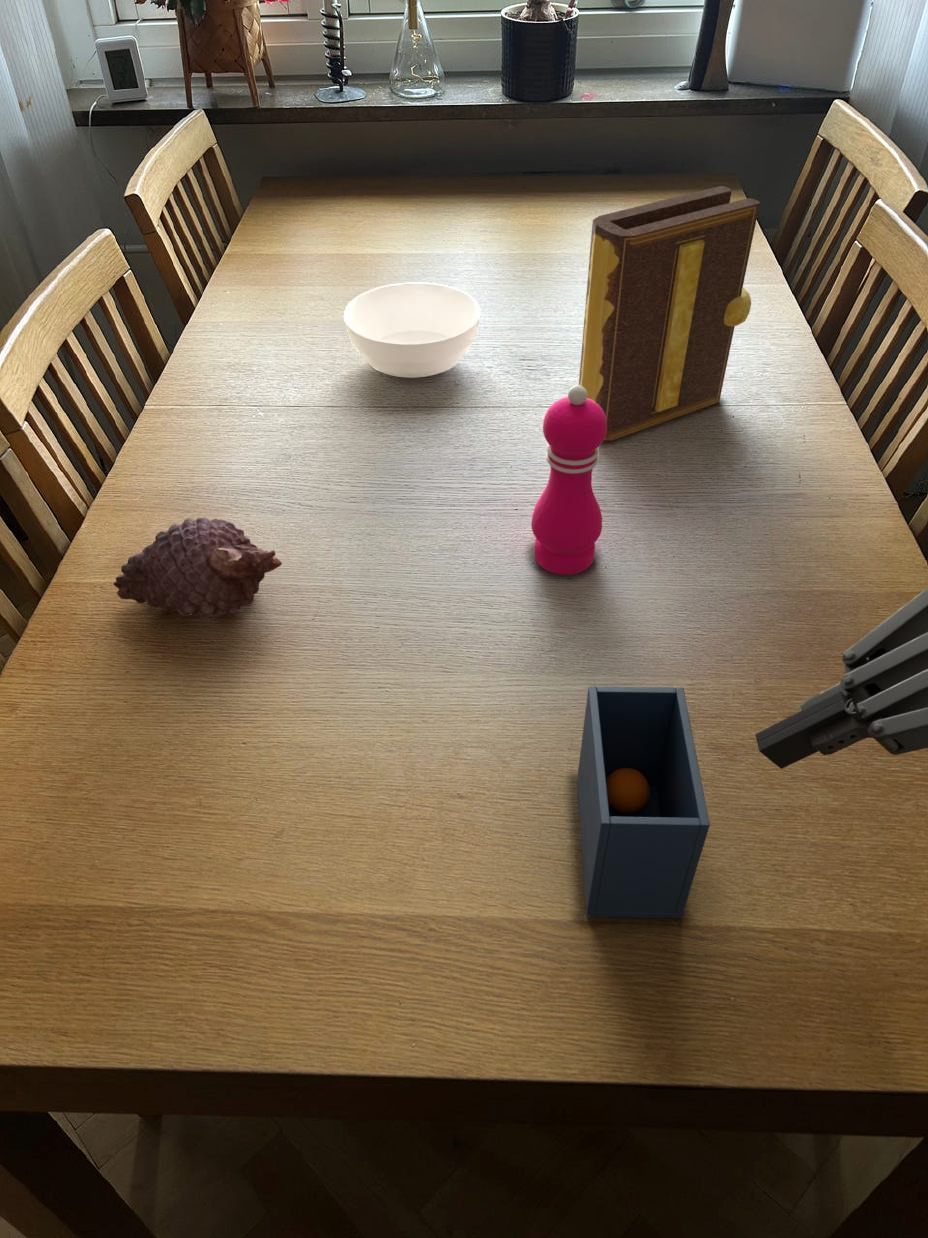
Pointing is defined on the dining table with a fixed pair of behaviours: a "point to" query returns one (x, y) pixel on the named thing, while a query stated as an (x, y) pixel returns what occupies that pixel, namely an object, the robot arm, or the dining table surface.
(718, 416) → the dining table surface
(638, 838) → the gray box
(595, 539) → the pepper mill
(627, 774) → the orange ball
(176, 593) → the pine cone
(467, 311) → the bowl
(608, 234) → the book
